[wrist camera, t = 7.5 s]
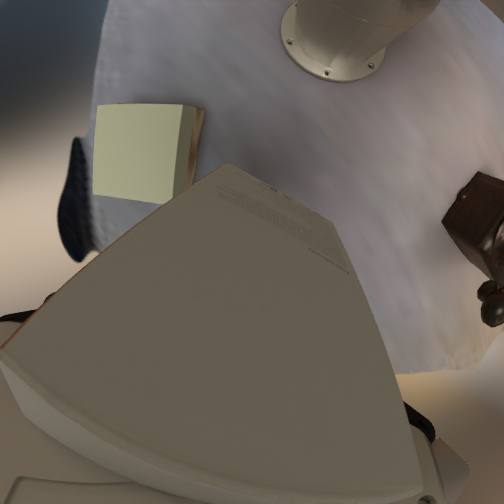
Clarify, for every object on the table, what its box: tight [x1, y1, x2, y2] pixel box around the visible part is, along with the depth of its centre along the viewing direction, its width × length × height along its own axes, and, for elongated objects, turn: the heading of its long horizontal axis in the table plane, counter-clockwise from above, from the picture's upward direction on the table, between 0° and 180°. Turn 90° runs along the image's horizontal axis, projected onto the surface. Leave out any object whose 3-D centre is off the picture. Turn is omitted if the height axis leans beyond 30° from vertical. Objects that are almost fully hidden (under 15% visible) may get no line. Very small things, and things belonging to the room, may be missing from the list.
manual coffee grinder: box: [442, 171, 504, 327], centre depth 23 cm, size 16×11×18 cm
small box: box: [0, 163, 424, 504], centre depth 9 cm, size 8×6×13 cm
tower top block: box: [93, 104, 195, 204], centre depth 26 cm, size 10×10×4 cm
